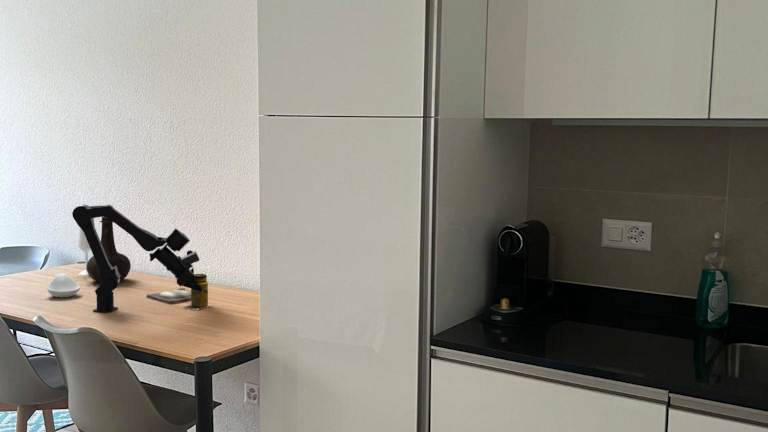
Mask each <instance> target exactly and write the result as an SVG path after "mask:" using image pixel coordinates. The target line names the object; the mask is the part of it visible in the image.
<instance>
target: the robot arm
mask: <svg viewBox="0 0 768 432" xmlns="http://www.w3.org/2000/svg"><path fill="white" fill-rule="evenodd" d="M102 217H107V218H109V219H110V220H111V221H113V223H114V224H115V225H117V226H118V227H119V228H120V229H122V230H123V231H125V232H126V233H127V234H129V235H130V236H131V237H132V238H133V239H134V240H135V241H136V243H137V244H138V245H139V246H140V247H141V248H142V249H143V250H144V251H146V252H149V253H148V254H149V261H150V262H153V261H154V260H155V259H156V260H157V261H158V262H159V263H160V264H161V265H162V266H164V268H165V269H166V270H167V271H168V272H170V273H171V274H173V276H174V277H175V278H176V284H177V285H178V286H179V288H182V287H183V288H187V289H190V290H191V289H194V290H197V291H199V292H201V291H202V288H201V287H200V286H199V284H198V283H197V282H196V280H195V279H194V274H195V272H194V271H195V268H194V265H193V264H194V263H197V262H200V257H199V255H198V252H197V251H196V250H195V251H192V250H191V249H189V250H187V251H186V255H184V256H183V257H181V255H177V254H175V252H180V251H181V250H182V249H183V248H184V247H186V245H187V244H188V243H189V242H190V241H191V240H190V238H189V237H188V236H187V235H186V234H185V233H183V232H181V231H180V230H179V229H177V227H176V228H174V229H173V231H172V232H171V233H170V234H169V235H168V236H167V237H161V236H159V237H158V236H157V235H156V234H154V233H153V232H151V231H148V230H146V229H144V228H142V227H139V226H138V225H137V224H136V223H134V222H133V221H131V220H130V219H129V218H128V217H126V215H123V214H122V213H121V212H120V211H118V210H117V209H116V208H115V207H113V205H111V204H104V205H91V206H90V205H88V204H86V203H85V204H79V205H77V206H76V207H74V209H73V210H72V218H73V219H74V221H75V223H76V224H77V225H78V227H80V228H81V229H82V231H83V232H84V234H85V237H86V239H87V241H88V244H89V246H90V249H91V250H90V251H91V254H92V257H93V256H94V258H95V261H96V263H97V265H98V268H99V276H100V281H101V283H98V285H97V287H96V288H95V290H94V292H95V295H96V308H95V309H93V310H92V312H95V313H111V312H114V311H115V310H118V306H115V303H114V302H115V300H114V299H115V298H114V297H115V296H114V295H115V294H114V291H115V290H116V289H117V287H118V286H119V283H120V282H121V281H120V276H121V275H120V274H119V272H118V269H117V266H115V267H112V265H111V264H110V263H109V261H108V258H107V256H106V253H105V251H104V249H103V246H102V244H101V238H100V237H99V234H98V232H97V229H96V227H95V226H96V225H95V219H96V218H97V219H98V218H102ZM153 251H154V252H153Z"/></svg>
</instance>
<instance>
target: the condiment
mask: <svg viewBox="0 0 768 432" xmlns="http://www.w3.org/2000/svg"><path fill="white" fill-rule="evenodd" d="M207 278H208V276H207V274H206V273H194V279H195V280H196V282H197V283H198V284H199V286H200V287H201V288H202V291H201V292H199V291H197V290H194V289H191V288H190V291H191V300H190V305H186V306H182V308H183V309H188V310H194V311H199V310H202V309H206V308H205V307H207V306H208V305H210V307H213V305H212V304H209V288H208V287H209V283H208V280H207ZM197 308H198V309H197ZM207 308H208V307H207Z"/></svg>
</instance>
